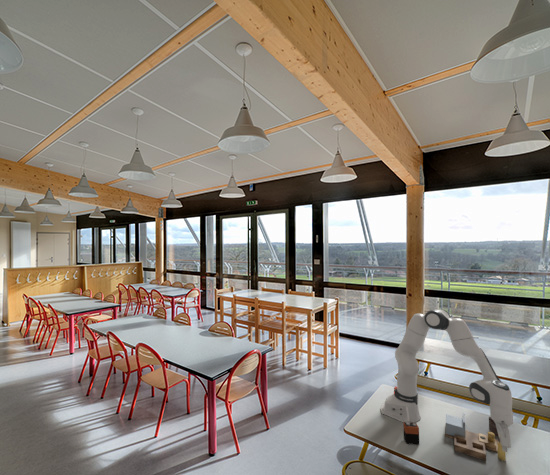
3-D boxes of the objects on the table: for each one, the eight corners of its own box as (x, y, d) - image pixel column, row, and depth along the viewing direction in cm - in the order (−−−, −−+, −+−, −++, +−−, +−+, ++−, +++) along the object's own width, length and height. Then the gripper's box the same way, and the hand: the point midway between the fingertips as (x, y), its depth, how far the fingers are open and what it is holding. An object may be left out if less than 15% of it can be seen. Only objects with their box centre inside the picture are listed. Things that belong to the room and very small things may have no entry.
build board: (454, 450, 144) (454, 444, 144) (454, 439, 152) (454, 434, 152) (486, 460, 137) (486, 454, 137) (484, 449, 145) (484, 443, 145)
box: (499, 429, 159) (498, 416, 159) (508, 436, 153) (507, 423, 153) (488, 429, 159) (488, 416, 159) (497, 437, 153) (497, 423, 153)
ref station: (444, 436, 154) (444, 425, 154) (445, 425, 163) (445, 415, 163) (500, 453, 142) (500, 441, 142) (497, 441, 150) (497, 430, 150)
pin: (498, 459, 138) (497, 445, 138) (497, 455, 140) (497, 441, 140) (506, 461, 136) (505, 447, 136) (505, 457, 139) (504, 443, 139)
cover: (445, 433, 155) (445, 417, 155) (446, 424, 162) (445, 408, 162) (465, 439, 150) (465, 422, 150) (465, 429, 157) (464, 413, 157)
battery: (403, 438, 153) (403, 419, 153) (416, 439, 152) (416, 420, 152) (405, 444, 149) (405, 425, 149) (419, 445, 148) (419, 426, 148)
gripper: (514, 430, 128) (515, 461, 128) (506, 407, 146) (507, 434, 145) (496, 426, 131) (498, 456, 131) (490, 403, 149) (492, 430, 149)
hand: (502, 444), depth 138 cm, fingers open, 8 cm apart
